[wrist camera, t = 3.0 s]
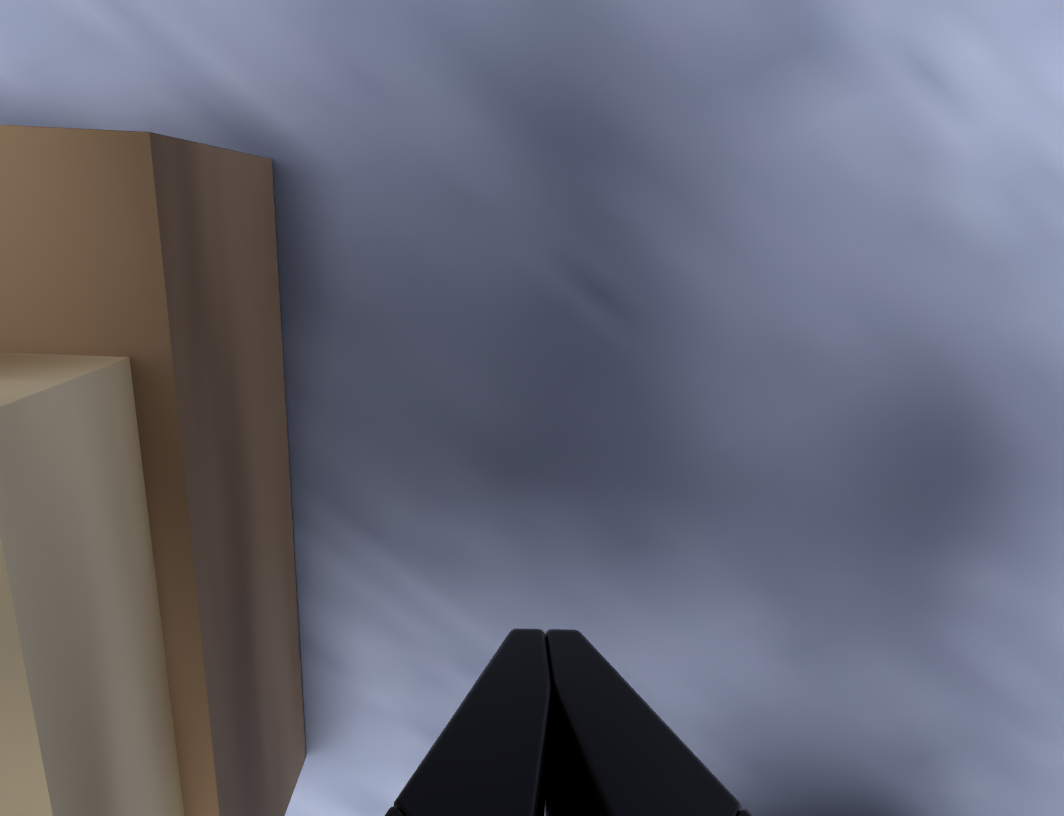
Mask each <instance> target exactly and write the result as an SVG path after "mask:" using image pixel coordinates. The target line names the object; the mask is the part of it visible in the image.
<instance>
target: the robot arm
mask: <svg viewBox="0 0 1064 816" xmlns="http://www.w3.org/2000/svg"><path fill="white" fill-rule="evenodd" d="M544 813H545V816H752V815H751V814H750V813H749V812H748V811H747V810H745V809H742V806H741V804H740V803H739V802H738V801H737V799H736V798H735V797H734V796H733V795H732V794H731V793H730V792H729V791H728V790H727V789H726V788H725V787H724V786H723V784H722V783H721V782H720V781H719V780H718V779H717V778H716V777H715V776H714V775H713V774H712V773H711V772H710V771H709V770H708V768H707V767H706V766H705V765H704V764H703V763H702V762H701V761H700V760H699V759H698V758H697V757H696V756H695V755H694V753H693V752H692V751H691V750H690V749H689V748H688V747H687V746H686V745H685V744H684V743H683V742H682V741H681V740H680V739H679V737H678V736H677V735H676V734H675V733H674V732H673V731H672V730H671V729H670V728H669V727H668V726H667V725H666V724H665V722H664V721H663V720H662V719H661V718H660V717H659V716H658V715H657V714H656V713H655V712H654V711H653V710H652V709H651V708H650V706H649V705H648V704H647V703H646V702H645V701H644V700H643V699H642V698H641V697H640V696H639V695H638V694H637V693H636V691H635V690H634V689H633V688H632V687H631V686H630V685H629V684H628V683H627V682H626V681H625V680H624V679H623V678H622V677H621V675H620V674H619V673H618V672H617V671H616V670H615V669H614V668H613V667H612V666H611V665H610V664H609V663H608V662H607V660H606V659H605V658H604V657H603V656H602V655H601V654H600V653H599V652H598V651H597V650H596V649H595V648H594V647H593V645H592V644H591V643H590V642H589V641H588V640H587V639H586V638H585V637H584V636H583V635H582V634H581V633H580V632H579V631H577V630H563V629H551V630H548V631H547V632H546V633H544V632H543V631H542V630H540V629H513V630H511V631H510V633H509V634H508V636H507V637H506V638H505V640H504V641H503V643H502V644H501V646H500V647H499V649H498V650H497V652H496V653H495V655H494V656H493V658H492V659H491V661H490V662H489V663H488V665H487V666H486V668H485V669H484V671H483V672H482V674H481V675H480V677H479V678H478V680H477V681H476V683H475V684H474V686H473V687H472V689H471V690H470V691H469V693H468V694H467V696H466V697H465V699H464V700H463V702H462V703H461V705H460V706H459V708H458V709H457V711H456V712H455V714H454V715H453V717H452V718H451V719H450V721H449V722H448V724H447V725H446V727H445V728H444V730H443V731H442V733H441V734H440V736H439V737H438V739H437V740H436V742H435V743H434V745H433V746H432V747H431V749H430V750H429V752H428V753H427V755H426V756H425V758H424V759H423V761H422V762H421V764H420V765H419V767H418V768H417V770H416V771H415V773H414V774H413V775H412V777H411V778H410V780H409V781H408V783H407V784H406V786H405V787H404V789H403V790H402V792H401V793H400V795H399V796H398V798H397V799H396V801H395V802H394V806H393V807H391V808H390V809H389V810H388V812H387V813H386V815H385V816H544Z"/></svg>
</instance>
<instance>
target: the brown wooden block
mask: <svg viewBox="0 0 1064 816" xmlns="http://www.w3.org/2000/svg"><path fill="white" fill-rule="evenodd" d="M0 352H3V353H31V354H59V355H87V356H115V357H129V359H130V367H131V375H132V384H133V392H134V400H135V408H136V417H137V425H138V433H139V442H140V450H141V458H142V466H143V475H144V483H145V491H146V500H147V508H148V516H149V525H150V533H151V541H152V549H153V558H154V566H155V574H156V583H157V591H158V599H159V607H160V616H161V624H162V632H163V641H164V649H165V657H166V665H167V674H168V682H169V690H170V699H171V707H172V715H173V723H174V732H175V740H176V748H177V757H178V765H179V773H180V781H181V790H182V798H183V806H184V815H185V816H284V815H285V812H286V810H287V807H288V804H289V802H290V799H291V796H292V794H293V791H294V788H295V785H296V783H297V780H298V777H299V775H300V772H301V769H302V766H303V764H304V761H305V758H306V746H305V729H304V712H303V694H302V677H301V659H300V642H299V624H298V607H297V589H296V572H295V554H294V537H293V520H292V502H291V485H290V467H289V450H288V432H287V415H286V397H285V380H284V362H283V345H282V327H281V310H280V293H279V275H278V258H277V240H276V223H275V205H274V188H273V170H272V159H269V158H265V157H260V156H255V155H251V154H246V153H242V152H237V151H233V150H228V149H224V148H219V147H214V146H210V145H205V144H201V143H196V142H192V141H187V140H182V139H178V138H173V137H169V136H164V135H160V134H155V133H151V132H135V131H115V130H95V129H75V128H55V127H35V126H15V125H0Z"/></svg>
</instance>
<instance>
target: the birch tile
mask: <svg viewBox="0 0 1064 816" xmlns="http://www.w3.org/2000/svg"><path fill="white" fill-rule="evenodd" d="M0 816H185V815H184V806H183V798H182V790H181V781H180V773H179V765H178V757H177V748H176V740H175V732H174V723H173V715H172V707H171V699H170V690H169V682H168V674H167V665H166V657H165V649H164V641H163V632H162V624H161V616H160V607H159V599H158V591H157V583H156V574H155V566H154V558H153V549H152V541H151V533H150V525H149V516H148V508H147V500H146V491H145V483H144V475H143V466H142V458H141V450H140V442H139V433H138V425H137V417H136V408H135V400H134V392H133V384H132V375H131V367H130V359H129V357H115V356H87V355H59V354H31V353H3V352H0Z"/></svg>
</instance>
